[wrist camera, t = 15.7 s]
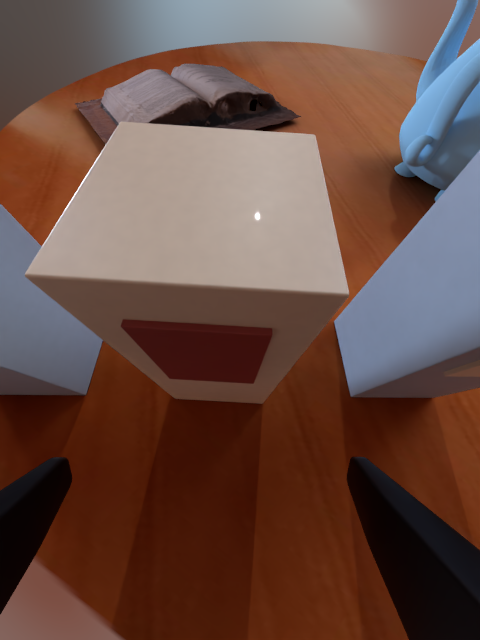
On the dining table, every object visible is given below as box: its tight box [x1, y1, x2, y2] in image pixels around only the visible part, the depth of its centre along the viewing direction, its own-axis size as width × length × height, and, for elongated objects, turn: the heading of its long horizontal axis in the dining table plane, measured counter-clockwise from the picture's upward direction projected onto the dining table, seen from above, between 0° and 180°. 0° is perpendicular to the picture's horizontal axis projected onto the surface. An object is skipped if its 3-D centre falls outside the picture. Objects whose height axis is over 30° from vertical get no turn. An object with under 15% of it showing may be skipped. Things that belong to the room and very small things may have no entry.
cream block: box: [25, 122, 349, 404], centre depth 11 cm, size 6×6×13 cm
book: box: [75, 64, 301, 145], centre depth 34 cm, size 20×28×4 cm
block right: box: [334, 150, 480, 398], centre depth 12 cm, size 6×6×13 cm
